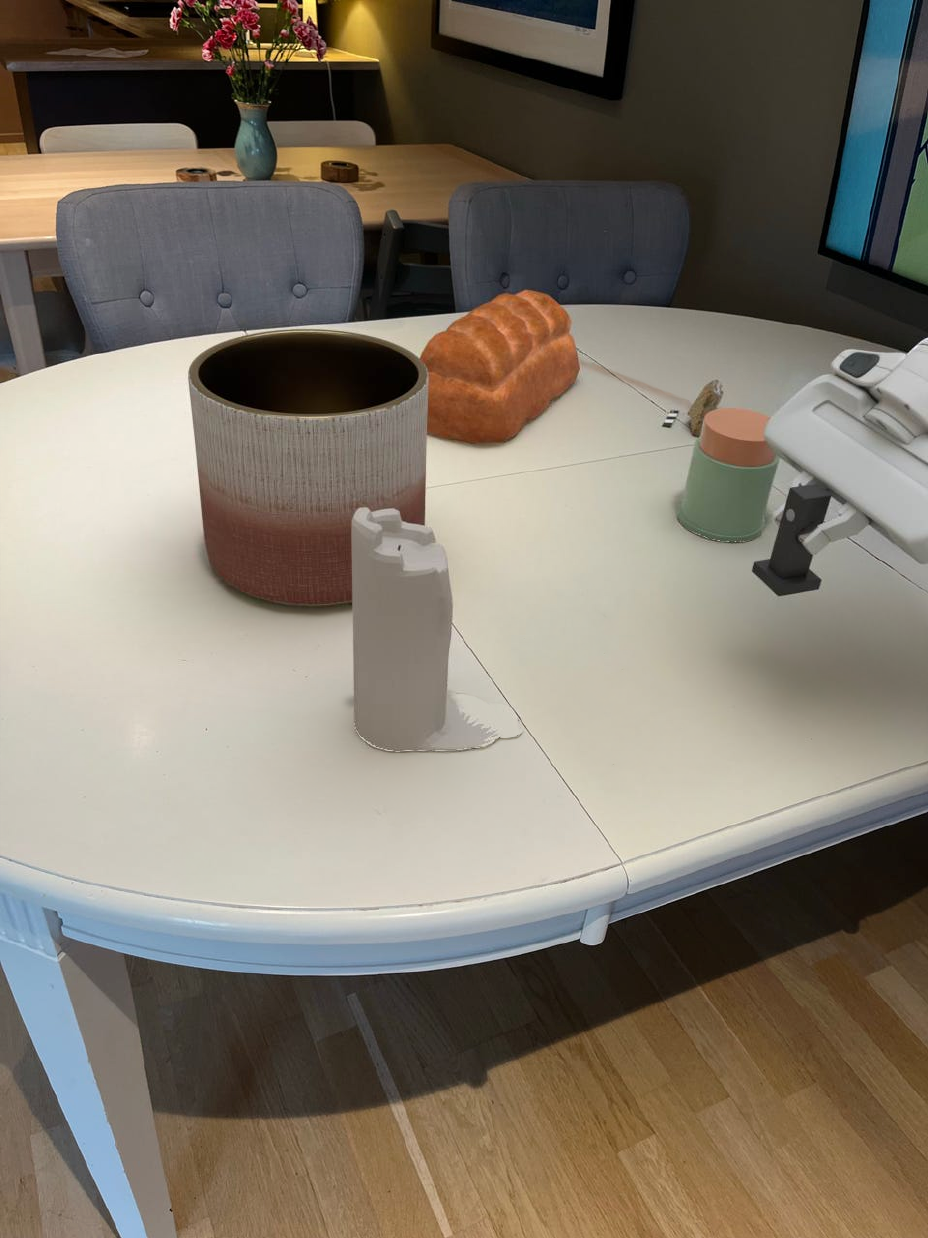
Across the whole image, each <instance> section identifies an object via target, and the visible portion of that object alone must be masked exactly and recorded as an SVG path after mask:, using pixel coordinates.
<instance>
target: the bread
mask: <svg viewBox="0 0 928 1238" xmlns="http://www.w3.org/2000/svg"><path fill="white" fill-rule="evenodd" d="M571 327H572V320H571V317H570V314H569V313H568V311H567V310H566V309H565V308H564V307H563V306H561V304H560V303H558V302H557V301H556V300H555V299H554V298H553V297H551V296H550V295H549V294H548V293H543V292H539V291H535V290H529V289H523V290H522V291H520V292H517V293H515V294H511V293H508V292H505V293H500V294H498V295H497V296H496V297H494V298H493V299H492V300H490V301H489V302H486V303H483V304H481V305H480V306H477V307H475V308H473V309H471V310H470V311H469V312H468V313H467V314H466V315H464V316H462V317H460V318H458V319H456V320H455V321H452V323H450V324H449V326H448V327H447V328H446V329H445V330H443V331H440V332H437V333H435V334H434V336H432V338H430V339H429V341H428V342H427V344H426V345H425V347H424V349H423V350H422V352H421V353H420V356H419V359H420V360H421V361H422V362H423V363H424V364H425V366H426V368H427V371H428V377H429V382H428V412H427V434H431V435H434V436H436V437H439V438H443V439H448V440H452V441H457V442H463V443H467V444H470V445H471V444H472V445H473V444H495V443H497V444H498V443H505V442H507V441H508V440H510V439H511V438H513V437H515V436H517V435H518V434H519V432H520V431H521V430H522V429H523V427H524V426H525V424H526V423H527V422H529V421H533V420H534V419H536V418H537V417H538V416H539V415H540V414H542V413H543V412H544V411H545V410H546V409H547V408H549V406H550V403H551V401H552V399H555V398H557V397H560V396H561V395H562V394H563V393H564V392H565V391H566V390H567V389H569V387H570V386H572V384H573V383H574V382H575V381H576V379H577V377H578V376H579V372H580V370H581V368H580V360H579V354H578V349H577V346H576V342H575V341H576V340H575V338H574V336H573V335H572V334H571V333H570V331H571Z"/></svg>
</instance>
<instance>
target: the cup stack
mask: <svg viewBox="0 0 928 1238" xmlns="http://www.w3.org/2000/svg"><path fill="white" fill-rule="evenodd" d="M771 417H772V416H769V415H767V414H764V413H761V412H758V411H755V410H751V409H746V408H737V407H723V408H722V407H721V408H716V409H715V410H713V411H710V412H708V413H707V414H706V415H705V417H704V420H703V425H702V429H701V434H700V436H697V438H696V439H695V441H694V444H693V449H692V454H691V458H690V463H689V468H688V471H687V472H688V473H687V477H686V480H685V486H684V491H683V495H682V499H681V502H680V503H679V504H678V506H677V510H676V518H677V517H678V518H677V520H678V519H679V520H678V522H679V521H680V522H679V524H680V525H681V524H682V525H683V526H685V527H684V529H686V528H687V529H688V530H687V529H686V530H687V531H689V530H690V531H693V532H695V533H697V534H700V535H701V536H705V537H707V538H709V539H708V540H710V539H715V540H720V541H725V542H724V543H727V542H726V541H729V542H735V541H736V542H740V541H741V542H740V543H744V542H743V541H746V542H749V541H748V540H750V541H752V539H753V540H755V539H757V538H758V537H760V536H761V534H762V533H763V530H764V527H765V519H764V517H765V513H766V510H767V506H768V503H769V499H770V496H771V492H772V488H773V485H774V482H775V481H774V480H775V477H776V474H777V471H778V467H779V464H780V460H781V458H780V457H778V456H777V455H776V454H775V452H774V451H773V450H772V449H771V447H770V446H769V445H768V443H767V442H766V440H765V439H764V437H763V434H764V430H765V427H766V424H767V422H768V421H769V419H770V418H771ZM682 525H681V526H682ZM683 526H682V527H683ZM690 531H689V532H690ZM757 536H758V537H757ZM756 537H757V538H756ZM754 538H755V539H754Z"/></svg>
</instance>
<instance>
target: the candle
mask: <svg viewBox="0 0 928 1238" xmlns="http://www.w3.org/2000/svg"><path fill="white" fill-rule="evenodd" d="M351 544H352V602H351V603H352V663H353V664H352V668H353V669H352V672H353V674H352V675H353V722H354V723H355V725H354V728H355V727H356V729H355V731H356V730H357V731H358V733H359V735H360V736H361V737H363V738H364V739H365V740H366V741H368V742H370V743H371V744H372V745H375V746H376V747H379V748H383V749H387V750H393V751H402V750H403V751H404V750H427V751H426V752H429V751H428V750H433V751H432V752H436V751H435V750H457V749H464V748H467V749H468V748H475V747H482V746H479V745H482V744H485V743H488V742H490V741H491V740H488V741H484V740H485V739H487V738H488V737H490V736H491V735H493V734H494V733H495V732H496V731H497V730H496V731H492V732H488V733H486V732H487V731H488V730H489V729H490V728H491V727H489V728H483V729H481V727H482V726H483V725H484V724H478V725H476V726H472V725H473V724H474V723H475V722H476V721H477V720H478V719H477V720H476V721H474V722H472V723H468V724H467V722H468V720H469V717H470V715H469V716H467V717H466V719H465V720H463V719H464V715H465V713H464V712H463V713H462V715H459V709H454V708H458V707H457V705H456V702H455V700H454V699H451V700H452V703H453V704H451V702H450V700H449V698H448V697H447V692H448V681H449V678H448V676H449V657H450V647H451V641H452V634H453V633H452V632H453V631H452V630H453V613H454V612H453V610H454V605H453V604H454V603H453V602H454V601H453V592H452V587H451V579H450V573H449V563H448V556H447V552H446V550H445V547H444V546H443V545H442V544H441V543H439V542H437V541H436V536H435V533H434V530H433V527H430V526H427V525H425V526H424V525H418V524H411V523H406V522H404V521H402V519H401V515H400V512H399V511H398V510H396V509H394V508H391V509H382V510H378V511H374V512H371V511H370V510H369V509H368V508H367V507H365V508H358V510H357V511H356V512H355V514H354V516H353V518H352V523H351ZM462 708H463V707H462ZM359 735H358V736H359ZM497 735H498V734H495V735H493V736H491V737H495V736H497Z"/></svg>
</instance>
